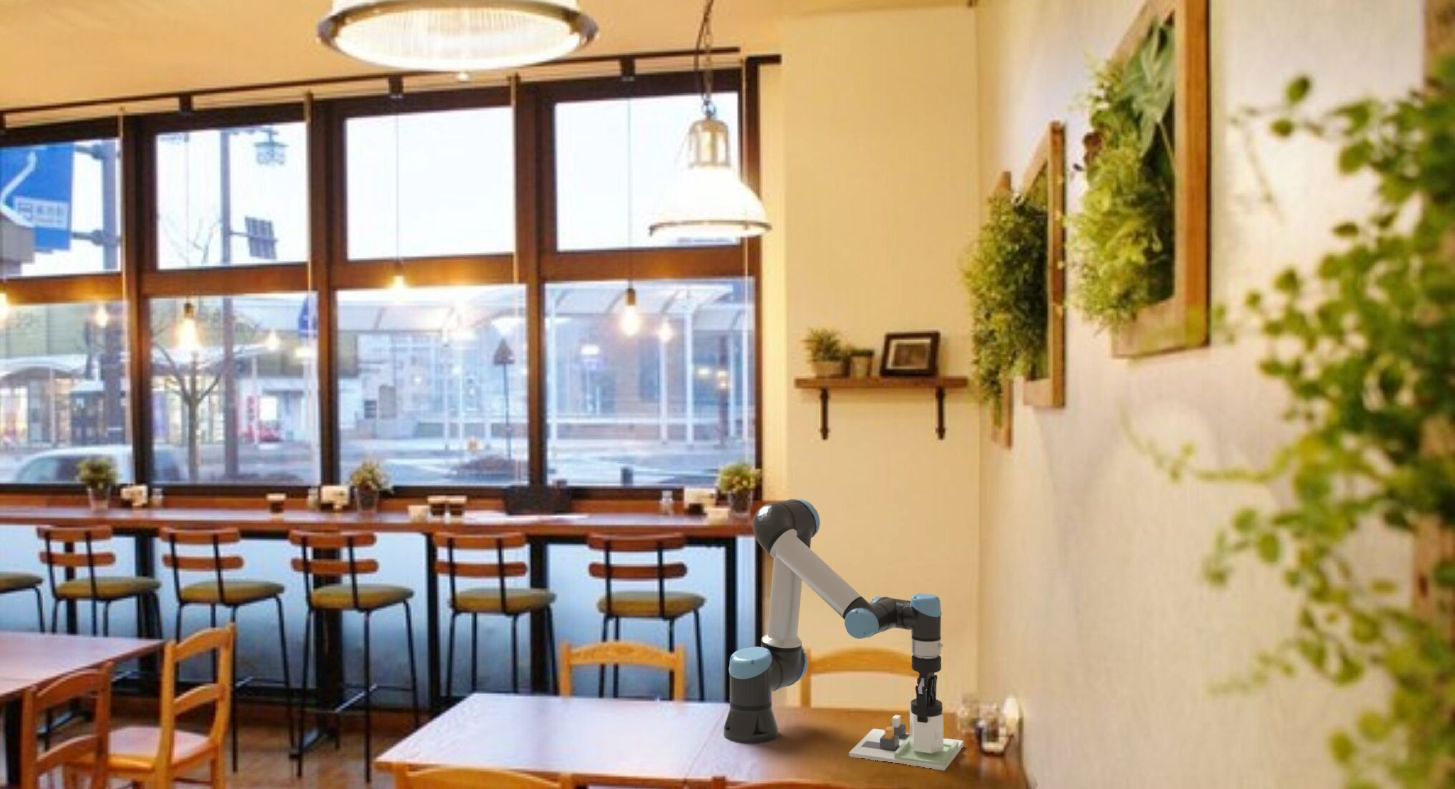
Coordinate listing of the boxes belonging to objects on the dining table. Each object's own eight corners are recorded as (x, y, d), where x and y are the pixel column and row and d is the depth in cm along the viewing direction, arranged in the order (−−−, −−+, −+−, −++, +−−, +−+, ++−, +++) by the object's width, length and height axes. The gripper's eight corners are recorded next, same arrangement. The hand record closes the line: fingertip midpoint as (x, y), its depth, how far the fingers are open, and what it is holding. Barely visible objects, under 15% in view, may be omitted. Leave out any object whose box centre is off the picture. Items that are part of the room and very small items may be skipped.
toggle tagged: (880, 747, 282) (879, 729, 282) (884, 743, 286) (884, 724, 286) (894, 749, 281) (894, 731, 280) (899, 745, 284) (899, 726, 284)
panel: (849, 758, 280) (848, 746, 280) (873, 733, 299) (873, 722, 299) (944, 772, 269) (944, 760, 269) (963, 746, 288) (963, 735, 288)
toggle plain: (887, 735, 292) (887, 717, 292) (891, 731, 295) (891, 713, 295) (901, 737, 290) (901, 719, 290) (905, 733, 294) (905, 715, 294)
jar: (925, 755, 273) (925, 709, 273) (903, 746, 280) (903, 701, 280) (950, 748, 278) (950, 702, 278) (927, 739, 285) (927, 695, 285)
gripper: (933, 663, 270) (933, 756, 270) (947, 649, 284) (948, 737, 284) (904, 660, 273) (904, 752, 274) (920, 646, 287) (920, 734, 288)
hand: (926, 744), depth 279 cm, fingers closed on jar, 2 cm apart
